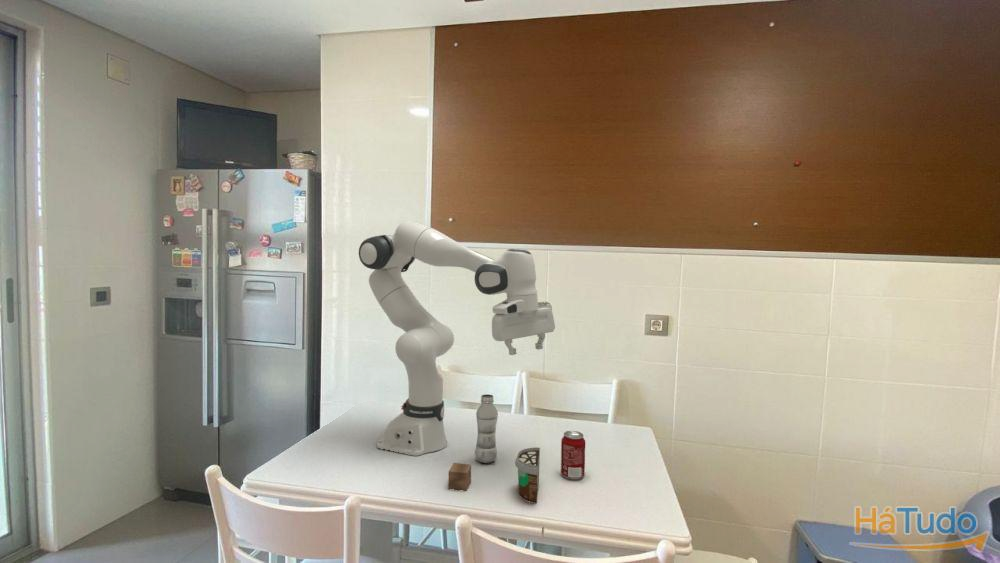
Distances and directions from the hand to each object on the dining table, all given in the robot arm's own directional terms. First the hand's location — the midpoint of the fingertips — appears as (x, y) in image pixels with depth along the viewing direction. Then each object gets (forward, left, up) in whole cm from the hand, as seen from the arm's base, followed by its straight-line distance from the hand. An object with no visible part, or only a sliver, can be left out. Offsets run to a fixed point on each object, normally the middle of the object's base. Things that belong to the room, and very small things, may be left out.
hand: (526, 351), depth 130 cm
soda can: (+14, -2, -35) cm, 38 cm away
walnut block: (-16, -14, -35) cm, 41 cm away
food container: (+2, -14, -35) cm, 37 cm away
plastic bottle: (-12, +2, -35) cm, 37 cm away
